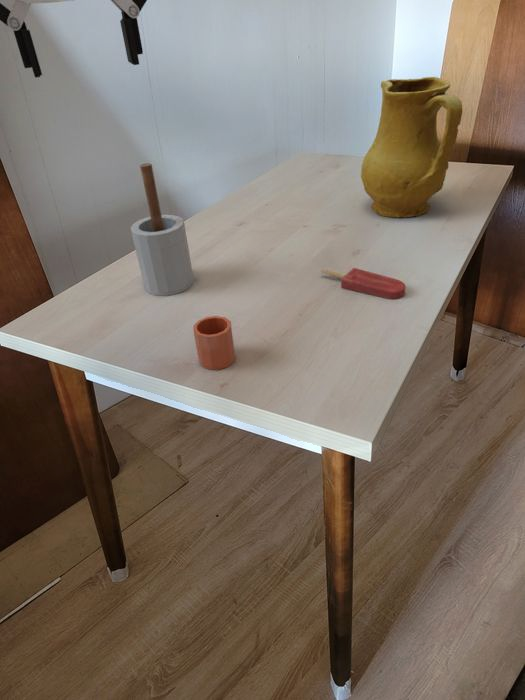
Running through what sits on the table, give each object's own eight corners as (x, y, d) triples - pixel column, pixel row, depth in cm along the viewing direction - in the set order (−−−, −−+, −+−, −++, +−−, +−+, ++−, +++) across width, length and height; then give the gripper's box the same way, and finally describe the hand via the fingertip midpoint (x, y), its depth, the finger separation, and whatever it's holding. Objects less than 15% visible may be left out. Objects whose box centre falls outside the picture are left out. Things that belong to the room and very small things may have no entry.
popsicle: (327, 260, 90) (410, 280, 83) (327, 269, 91) (409, 290, 84) (314, 271, 87) (398, 293, 80) (314, 280, 89) (397, 303, 81)
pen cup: (192, 365, 72) (186, 332, 68) (210, 345, 75) (205, 313, 72) (224, 373, 70) (219, 339, 66) (241, 352, 73) (237, 319, 70)
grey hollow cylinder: (135, 291, 90) (120, 232, 84) (162, 269, 97) (150, 212, 90) (176, 299, 87) (164, 237, 81) (202, 275, 93) (193, 217, 87)
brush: (158, 282, 91) (133, 166, 80) (166, 276, 93) (143, 161, 81) (171, 284, 90) (147, 167, 79) (179, 278, 92) (157, 162, 80)
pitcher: (424, 187, 120) (436, 67, 105) (457, 221, 106) (477, 87, 90) (351, 198, 120) (352, 78, 104) (375, 233, 105) (380, 101, 90)
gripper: (128, -154, 48) (162, 56, 58) (-75, -149, 44) (-1, 76, 54) (142, -174, 43) (177, 62, 53) (-91, -171, 38) (-4, 85, 48)
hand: (87, 69), depth 53 cm, fingers open, 9 cm apart
